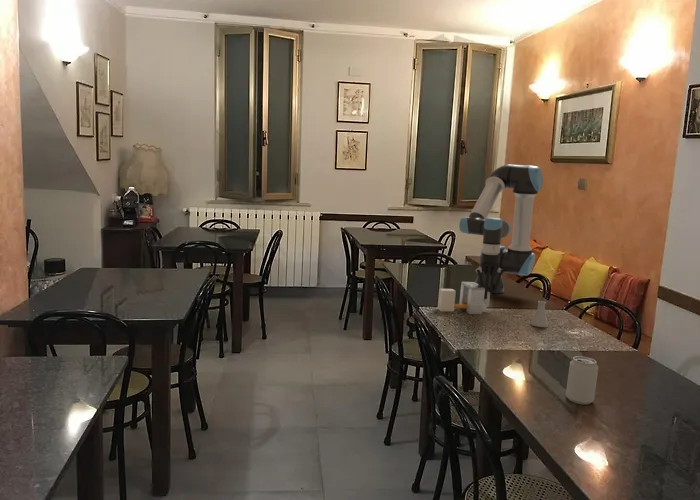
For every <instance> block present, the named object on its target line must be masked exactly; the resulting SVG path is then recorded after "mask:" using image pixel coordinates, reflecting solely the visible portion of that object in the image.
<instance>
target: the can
mask: <svg viewBox="0 0 700 500" xmlns="http://www.w3.org/2000/svg"><path fill="white" fill-rule="evenodd" d="M597 363H598V362H597V361H596V360H595V359H594V358H591V357H587V356H581V355H578V356H577V355H576V356H573V357H572V360H571V361H569V368H568V375H567V382H566V383H567V384H566V389H565V396H566V397H567V399H568V401H570V402H572V403H573V404H574V403H575V404H578V405H590V404H591V403H593V402H595V397H596V396H595V395H596V388H597V381H598V380H597V379H598V375H599V374H598V373H599V366H598V364H597Z"/></svg>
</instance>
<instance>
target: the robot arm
mask: <svg viewBox="0 0 700 500" xmlns="http://www.w3.org/2000/svg"><path fill="white" fill-rule="evenodd" d="M543 177H544V176H543V172H542V169H541V167H540V166H536V165H531V164H527V165H526V164H514V163H513V164H512V163H510V164H509V163H508V164H503V165H501V166H499V167H498V168H495V169H494V170H493V171H492V172H491V173H490V174H489V175H488V177H487V178H486V180H485V186H484V188H483V190H482V192H481V194H480V195H479V198H478V199H477V200H476V202H475V205H474V206H473V208H472V209H471V211H470V213H469V215H468V216H462V217H461V218H460V220H459V223H458V224H459V225H458V227H459V231H460V233H463V234H467V235H475V236H482V247H481V251H480V256H479V257H480V258H479V267H478V268H475V269H474V271H475V273H476V276H477V277H476V279H475V281H474V282H475V283H477V284H479V285H480V286H482V287H484V288H485V294H484V303H486V304H487V308H489V307H490V300H492V294H503V293H504V291H505V286H504V281H503V274H504V273H507V274H512V275H517V276H525V277H526V276H529V275H530V273H532V270H533V268H534V265H535V261H536V253H534V252H533V248H532V247H531V245H530V241H531V231H532V223H533V222H532V221H533V210H534V201H535V197H536V196H538V193H539V192H541V190H542V189H543V184H544V182H543V181H544V180H543ZM505 189H512V193H513V195H514V197H515V200H514V209H513V210H514V212H513V223H512V227H511V224H510V223H509V222H508V221H507V220H503V218H500V217H492V216H490V217H488V216H489V214H490V212H491V210H492V208H493V206H494V205H495V202H496V200H497V199H498V197H499V195H500V193H503V191H504V190H505ZM511 228H512V229H511ZM511 230H512V234H511V244H509V245H508V247H507V249H506V246H505V245H502V244H501V243H502V238H506V237H507V236H508V235H510V233H511Z"/></svg>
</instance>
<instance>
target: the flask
mask: <svg viewBox="0 0 700 500" xmlns="http://www.w3.org/2000/svg"><path fill="white" fill-rule="evenodd" d="M537 303H538V304H537V308H536V311H535V313H534V315H533V317H532V319H531V321H530V323H529V325H531V326H532V327H538V328H548V327H549V323H548V319H547V315H546V314H547V313H546V304H547V301H542V300H537Z"/></svg>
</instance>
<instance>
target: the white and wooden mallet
mask: <svg viewBox="0 0 700 500" xmlns="http://www.w3.org/2000/svg"><path fill="white" fill-rule="evenodd" d="M438 290H439V291H438V301H437V310H439V311H440V312H454V311H455V309H461V308H466V309H465V310H467V304H459V303H455V302H456V293H457V292H456V290H455V289H453V288H439V289H438ZM487 308H488V307H487V304H486V303H483V312H482V313H487Z"/></svg>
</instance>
